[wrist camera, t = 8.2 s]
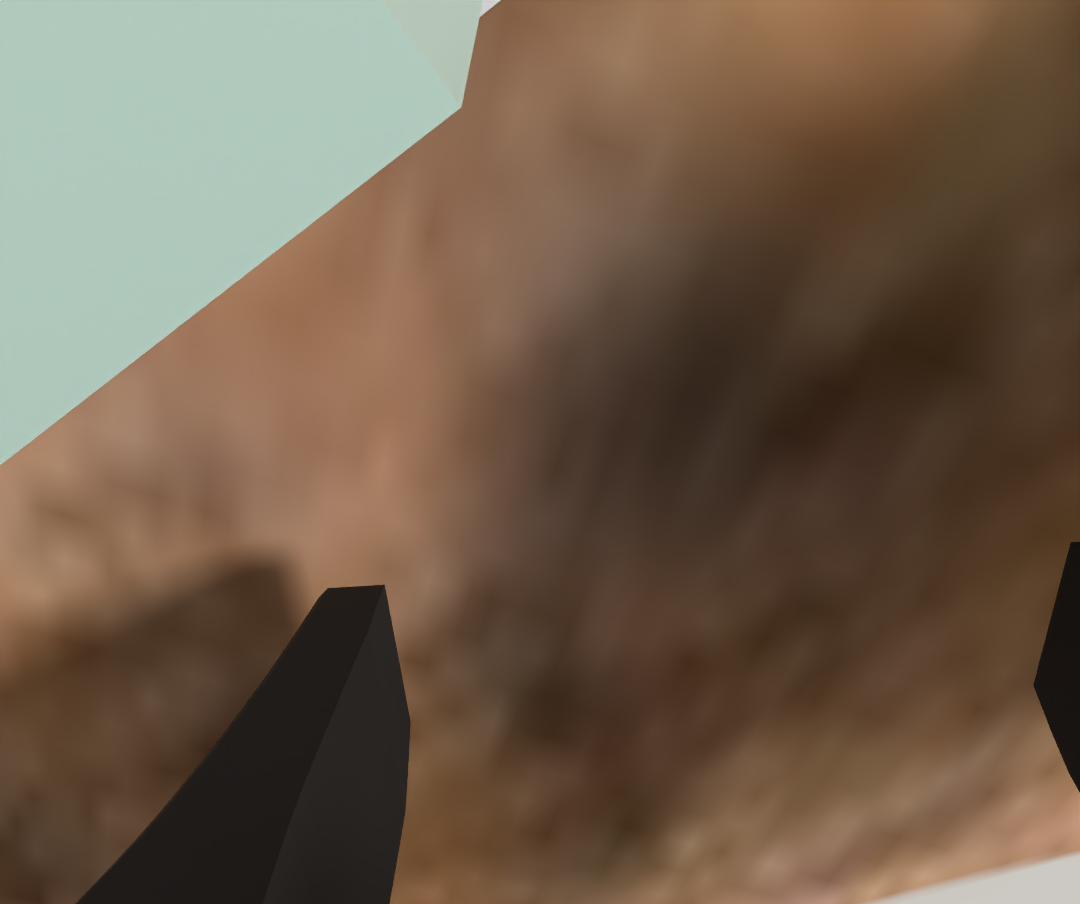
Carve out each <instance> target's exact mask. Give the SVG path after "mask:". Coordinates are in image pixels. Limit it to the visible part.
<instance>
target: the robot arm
mask: <svg viewBox="0 0 1080 904" xmlns="http://www.w3.org/2000/svg"><path fill="white" fill-rule="evenodd" d="M1034 688H1035V691H1036V693H1037V696H1038V698H1039V701H1040V703H1041V706H1042V709H1043V711H1044V714H1045V716H1046V719H1047V721H1048V724H1049V727H1050V729H1051V732H1052V734H1053V737H1054V739H1055V741H1056V744H1057V746H1058V748H1059V751H1060V753H1061V755H1062V758H1063V760H1064V762H1065V765H1066V767H1067V769H1068V772H1069V774H1070V776H1071V777H1072V779H1073V781H1074V783H1075V785H1076V787H1077V788H1078V790H1079V792H1080V542H1071V544H1070V547H1069V551H1068V555H1067V559H1066V563H1065V567H1064V570H1063V574H1062V578H1061V582H1060V586H1059V589H1058V593H1057V597H1056V601H1055V605H1054V609H1053V612H1052V616H1051V620H1050V624H1049V628H1048V632H1047V635H1046V639H1045V643H1044V647H1043V651H1042V655H1041V658H1040V662H1039V666H1038V670H1037V674H1036V677H1035V681H1034ZM409 740H410V717H409V712H408V706H407V701H406V696H405V690H404V685H403V680H402V674H401V669H400V664H399V659H398V653H397V648H396V643H395V637H394V632H393V627H392V621H391V616H390V611H389V605H388V600H387V595H386V590H385V585H374V586H357V587H341V588H328V589H327V590H326V591H325V592H324V593H323V594H322V595H321V596H320V597H319V598H318V600H317V601H316V603H315V604H314V606H313V607H312V609H311V610H310V612H309V614H308V615H307V617H306V618H305V620H304V621H303V623H302V624H301V626H300V627H299V629H298V630H297V632H296V633H295V635H294V636H293V638H292V639H291V641H290V642H289V644H288V645H287V647H286V648H285V650H284V651H283V653H282V654H281V656H280V657H279V658H278V660H277V661H276V663H275V664H274V666H273V667H272V668H271V670H270V671H269V673H268V674H267V676H266V677H265V679H264V680H263V681H262V683H261V684H260V686H259V687H258V688H257V690H256V691H255V692H254V694H253V695H252V696H251V698H250V699H249V700H248V702H247V703H246V705H245V706H244V707H243V709H242V710H241V711H240V713H239V714H238V715H237V717H236V718H235V719H234V721H233V722H232V723H231V725H230V726H229V728H228V729H227V730H226V732H225V733H224V734H223V736H222V737H221V738H220V740H219V741H218V742H217V743H216V745H215V746H214V747H213V749H212V750H211V751H210V752H209V754H208V755H207V756H206V757H205V758H204V760H203V761H202V762H201V763H200V765H199V766H198V767H197V768H196V769H195V771H194V772H193V773H192V774H191V776H190V777H189V778H188V779H187V780H186V782H185V783H184V784H183V785H182V786H181V788H180V789H179V790H178V791H177V793H176V794H175V795H174V796H173V797H172V799H171V800H170V801H169V802H168V804H167V805H166V806H165V807H164V808H163V810H162V811H161V812H160V813H159V814H158V815H157V817H156V818H155V819H154V820H153V821H152V822H151V823H150V825H149V826H148V827H147V828H146V829H145V830H144V831H143V832H142V834H141V835H140V836H139V837H138V838H137V839H136V840H135V841H134V843H133V844H132V845H131V846H130V847H129V848H128V849H127V850H126V851H125V852H124V853H123V855H122V856H121V857H120V858H119V859H118V860H117V861H116V862H115V863H114V864H113V865H112V866H111V867H110V868H109V869H108V871H107V872H106V873H105V874H104V875H103V876H102V877H101V878H100V879H99V880H98V881H97V882H96V883H95V884H94V885H93V886H92V887H91V888H90V889H89V890H88V891H87V892H86V894H85V895H84V896H83V897H82V898H81V899H80V900H79V901H78V902H77V903H76V904H389V903H390V897H391V891H392V886H393V880H394V874H395V868H396V863H397V857H398V851H399V845H400V839H401V834H402V828H403V822H404V815H405V807H406V792H407V777H408V760H409Z"/></svg>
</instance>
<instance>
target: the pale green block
mask: <svg viewBox="0 0 1080 904" xmlns="http://www.w3.org/2000/svg"><path fill="white" fill-rule="evenodd" d="M482 2H483V0H0V465H1V464H2V463H4V462H5V461H6V460H7V459H9V458H10V457H11V456H13V455H14V454H15V453H16V452H18V451H19V450H20V449H22V448H23V447H24V446H25V445H27V444H28V443H29V442H31V441H32V440H33V439H34V438H36V437H37V436H38V435H40V434H41V433H42V432H43V431H45V430H46V429H47V428H49V427H50V426H51V425H53V424H54V423H55V422H56V421H58V420H59V419H60V418H62V417H63V416H64V415H65V414H67V413H68V412H69V411H71V410H72V409H73V408H74V407H76V406H77V405H78V404H80V403H81V402H82V401H83V400H85V399H86V398H87V397H89V396H90V395H91V394H92V393H94V392H95V391H96V390H98V389H99V388H100V387H101V386H103V385H104V384H105V383H107V382H108V381H109V380H110V379H112V378H113V377H114V376H116V375H117V374H118V373H120V372H121V371H122V370H123V369H125V368H126V367H127V366H129V365H130V364H131V363H132V362H134V361H135V360H136V359H138V358H139V357H140V356H141V355H143V354H144V353H145V352H147V351H148V350H149V349H150V348H152V347H153V346H154V345H156V344H157V343H158V342H159V341H161V340H162V339H163V338H165V337H166V336H167V335H168V334H170V333H171V332H172V331H174V330H175V329H176V328H177V327H179V326H180V325H181V324H183V323H184V322H185V321H187V320H188V319H189V318H190V317H192V316H193V315H194V314H196V313H197V312H198V311H199V310H201V309H202V308H203V307H205V306H206V305H207V304H208V303H210V302H211V301H212V300H214V299H215V298H216V297H217V296H219V295H220V294H221V293H223V292H224V291H225V290H226V289H228V288H229V287H230V286H232V285H233V284H234V283H235V282H237V281H238V280H239V279H241V278H242V277H243V276H244V275H246V274H247V273H248V272H250V271H251V270H252V269H253V268H255V267H256V266H257V265H259V264H260V263H261V262H263V261H264V260H265V259H266V258H268V257H269V256H270V255H272V254H273V253H274V252H275V251H277V250H278V249H279V248H281V247H282V246H283V245H284V244H286V243H287V242H288V241H290V240H291V239H292V238H293V237H295V236H296V235H297V234H299V233H300V232H301V231H302V230H304V229H305V228H306V227H308V226H309V225H310V224H311V223H313V222H314V221H315V220H317V219H318V218H319V217H320V216H322V215H323V214H324V213H326V212H327V211H328V210H330V209H331V208H332V207H333V206H335V205H336V204H337V203H339V202H340V201H341V200H342V199H344V198H345V197H346V196H348V195H349V194H350V193H351V192H353V191H354V190H355V189H357V188H358V187H359V186H360V185H362V184H363V183H364V182H366V181H367V180H368V179H369V178H371V177H372V176H373V175H375V174H376V173H377V172H378V171H380V170H381V169H382V168H384V167H385V166H386V165H387V164H389V163H390V162H391V161H393V160H394V159H395V158H397V157H398V156H399V155H400V154H402V153H403V152H404V151H406V150H407V149H408V148H409V147H411V146H412V145H413V144H415V143H416V142H417V141H418V140H420V139H421V138H422V137H424V136H425V135H426V134H427V133H429V132H430V131H431V130H433V129H434V128H435V127H436V126H438V125H439V124H440V123H442V122H443V121H444V120H445V119H447V118H448V117H449V116H451V115H452V114H453V113H454V112H456V111H457V110H458V109H460V108H461V106H462V101H463V96H464V91H465V86H466V81H467V77H468V72H469V67H470V62H471V57H472V52H473V47H474V42H475V37H476V32H477V27H478V22H479V17H480V12H481V7H482Z"/></svg>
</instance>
